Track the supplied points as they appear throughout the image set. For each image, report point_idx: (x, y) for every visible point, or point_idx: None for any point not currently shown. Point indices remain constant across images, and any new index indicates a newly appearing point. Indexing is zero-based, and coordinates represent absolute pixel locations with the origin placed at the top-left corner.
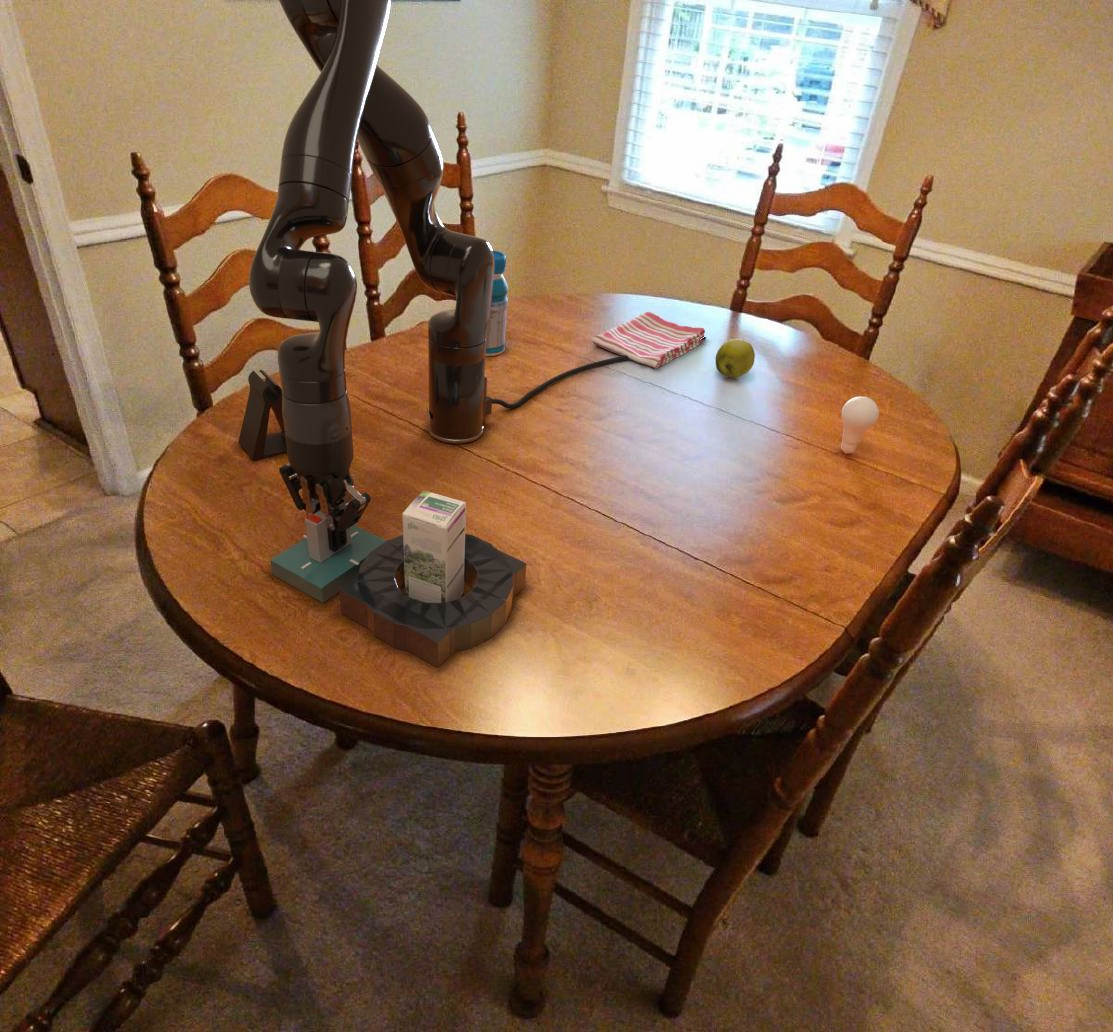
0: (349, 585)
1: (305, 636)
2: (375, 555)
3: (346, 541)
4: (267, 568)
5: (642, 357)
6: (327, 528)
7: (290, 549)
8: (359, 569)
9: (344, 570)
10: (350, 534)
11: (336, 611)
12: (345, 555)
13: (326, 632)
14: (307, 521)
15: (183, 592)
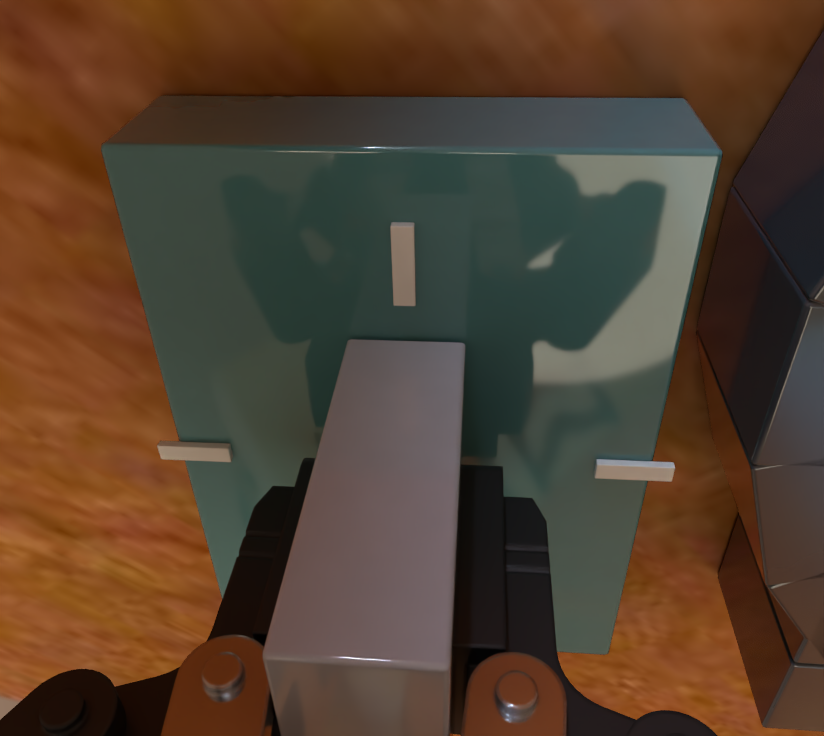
0: (805, 700)
1: (660, 687)
2: (814, 474)
3: (546, 531)
4: (199, 533)
5: None
6: (456, 730)
7: (226, 550)
8: (783, 605)
9: (626, 538)
10: (461, 395)
11: (685, 573)
12: (528, 446)
13: (724, 653)
14: None
15: None
